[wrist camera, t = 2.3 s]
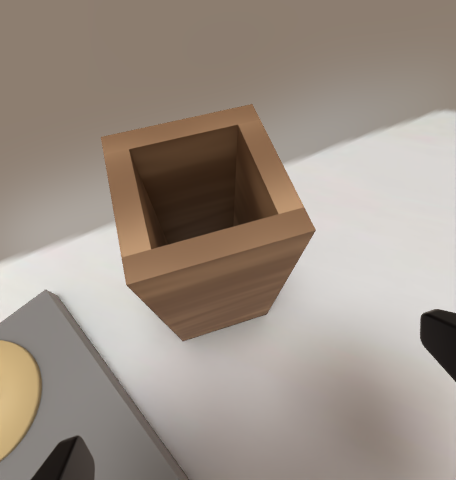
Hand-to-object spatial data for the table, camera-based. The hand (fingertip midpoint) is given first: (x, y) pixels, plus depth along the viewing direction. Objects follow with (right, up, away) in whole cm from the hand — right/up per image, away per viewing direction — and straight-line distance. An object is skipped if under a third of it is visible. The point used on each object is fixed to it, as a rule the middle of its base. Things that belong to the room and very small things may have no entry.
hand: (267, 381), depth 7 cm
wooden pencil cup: (-2, 0, +14) cm, 14 cm away
